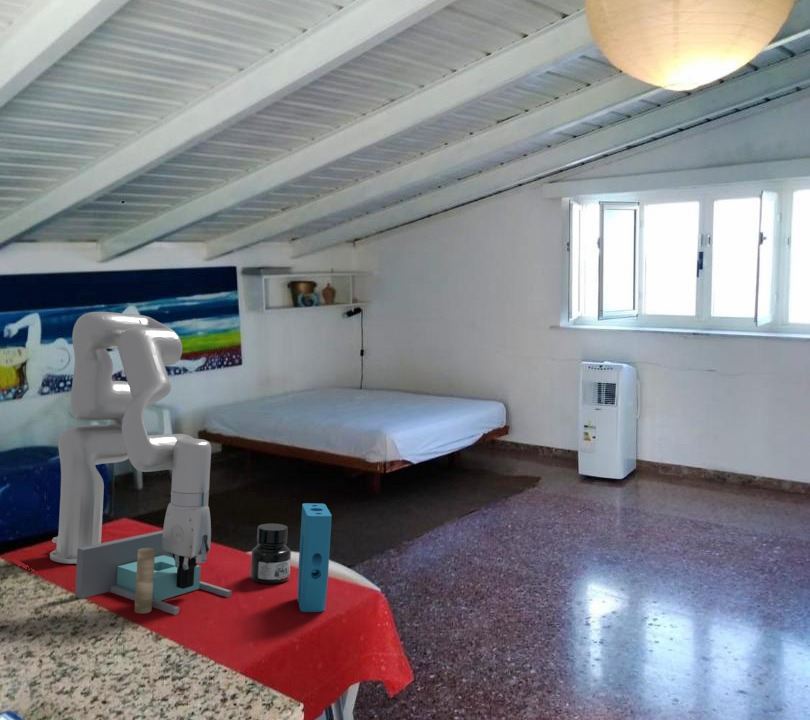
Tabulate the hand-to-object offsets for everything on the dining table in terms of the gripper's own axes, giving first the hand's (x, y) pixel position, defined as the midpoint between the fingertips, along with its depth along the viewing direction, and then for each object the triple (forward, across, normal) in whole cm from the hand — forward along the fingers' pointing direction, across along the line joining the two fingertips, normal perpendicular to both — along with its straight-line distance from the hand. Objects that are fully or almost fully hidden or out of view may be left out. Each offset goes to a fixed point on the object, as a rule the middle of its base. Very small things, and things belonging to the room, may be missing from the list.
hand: (184, 586), depth 158 cm
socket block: (+3, -8, 0) cm, 8 cm away
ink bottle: (+3, +4, +22) cm, 22 cm away
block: (+3, +22, +15) cm, 26 cm away
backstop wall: (+2, -5, 0) cm, 6 cm away
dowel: (+3, 0, -10) cm, 10 cm away
